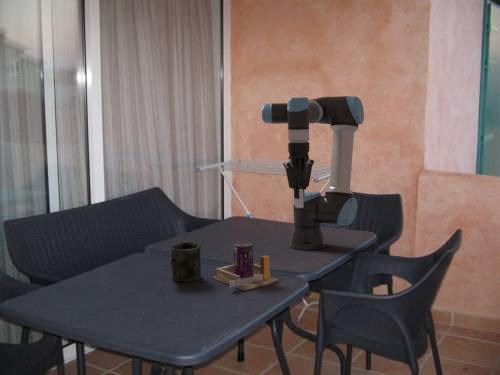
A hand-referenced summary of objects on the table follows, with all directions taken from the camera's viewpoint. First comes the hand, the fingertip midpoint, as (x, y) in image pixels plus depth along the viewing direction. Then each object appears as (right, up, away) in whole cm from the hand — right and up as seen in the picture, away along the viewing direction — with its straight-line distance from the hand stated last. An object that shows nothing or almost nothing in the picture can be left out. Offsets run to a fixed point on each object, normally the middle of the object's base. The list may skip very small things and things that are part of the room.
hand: (299, 207), depth 216 cm
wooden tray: (-20, -25, -3) cm, 32 cm away
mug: (-41, -26, -1) cm, 49 cm away
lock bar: (-18, -25, -11) cm, 33 cm away
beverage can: (-20, -25, -3) cm, 32 cm away
